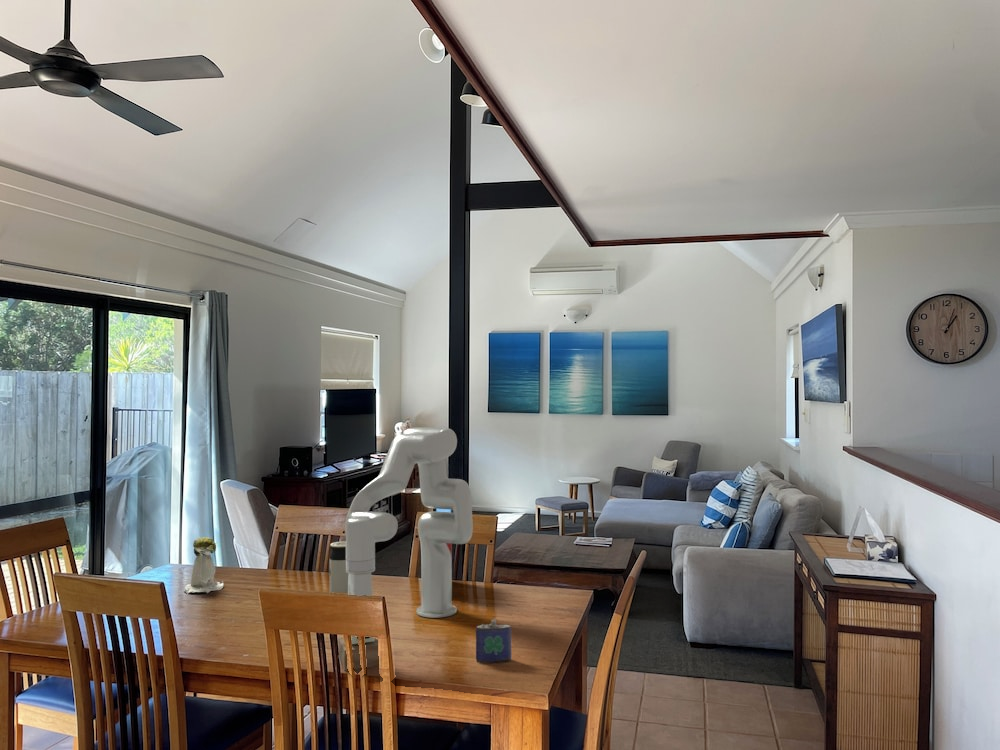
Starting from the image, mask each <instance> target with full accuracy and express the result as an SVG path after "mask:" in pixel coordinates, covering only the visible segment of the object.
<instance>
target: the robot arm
mask: <svg viewBox="0 0 1000 750" xmlns="http://www.w3.org/2000/svg"><path fill="white" fill-rule="evenodd" d="M457 444H458V438H457V434H456V433H455V431H454V430H453V429H451V428H448V427H424V426H423V427H421V426H420V427H419V426H418V427H409V428H407V429H405V430H404V431H403V432H402V433H401V434H399V435H396V436H395V437H394V438H393V439H392V441H391V443H390V446H389V448H388V452H387V453H386V456H385V460H384V461H383V464H382V467H381V469H380V471H379V474H378V476H377V477H375V478H374V479H373V480H371V481H370V482H369V483H367V484H366V485H365V486H364V487H363V488H362V489H361V490H359V492H357V493H356V495H355V497H353V500H352V501H351V504H350V507H349V509H348V511H347V514H346V518H345V521H344V530H345V542H346V572H347V573H349V575H348V595H357V596H372V597H373V588H372V587H373V585H372V583H373V582H372V581H373V579H372V573H373V572H375V571H376V543H379V542H386V541H389V540H391V539H392V538H394V536H395V535H396V534H397V531H398V527H399V524H398V523H399V522H398V520H397V518H396V517H395V515H393V514H391V513H388V512H381V511H369V510H370V509H371V508H372V506H374V505H375V504H377V503H378V502H379V501H381V500H383V499H385V498H388V497H390V496H393V495H396V494H398V493H400V492H402V491H404V490H405V489H407V486H408V484H409V481H410V478H411V476H412V472H413V470H414V468H415V465H416V464H417V466H418V475H419V476H418V477H419V491H420V500H421V503H422V505H423V506H424V507H425V508H429V509H451V512H436V510H435V511H428V512H424V513H423V514H422V515H420V517H419V519H418V521H417V532H418V536H419V537H418V538H419V541H420V556H421V557H420V560H421V561H420V562H421V564H420V565H421V566H420V567H421V568H420V569H421V571H420V573H421V574H420V575H421V576H420V577H421V579H420V580H421V605H419V606H417V608H416V614H417V615H418V616H421V617H424V618H427V619H428V618H430V619H432V618H433V619H435V618H437V619H438V618H439V619H440V618H446V617H451V616H453V615H455V614H456V613H457V612H458V611H457V609H458V608H457V606H455V605H454V604H452V603H453V601H452V600H453V599H452V598H453V579H452V580H451V553H450V551H449V549H448V547H447V545H446V543H452V545H453V544H455V545H464V544H467V543H468V542H470V540H471V539H472V536H473V531H474V526H473V525H474V523H473V521H474V520H473V508H472V507H473V505H472V503H473V502H472V492H471V489H470V485H469V484H468V482H467V481H466V480H463V479H460V478H448V475H447V466H446V465H447V464H446V461H445V459H447V458H448V457H451V455H453V454H454V452H455V451H456V449H457V446H458V445H457ZM368 638H370V637H365V639H368ZM357 639H358V637H357Z"/></svg>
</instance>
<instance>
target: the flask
mask: <svg viewBox="0 0 1000 750" xmlns="http://www.w3.org/2000/svg"><path fill="white" fill-rule="evenodd" d="M511 626H512V625H509V624H498V625H497V619H495V618H493V619H491V622H490V623H489V624H488V623H487V624H484V623H482V624H480V625H477V626H476V627H475V659H476V663H477V664H493V663H496V664H498V663H507V662H511V661H512V627H511Z"/></svg>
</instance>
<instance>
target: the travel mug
mask: <svg viewBox="0 0 1000 750" xmlns="http://www.w3.org/2000/svg"><path fill="white" fill-rule="evenodd" d="M329 546H330V548H331V550H330V552H329V593H330V592H334V593H348V575H349V573H347V572H346V540H345V541H344V540H343V541H334V542H331V543H330V545H329Z"/></svg>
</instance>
